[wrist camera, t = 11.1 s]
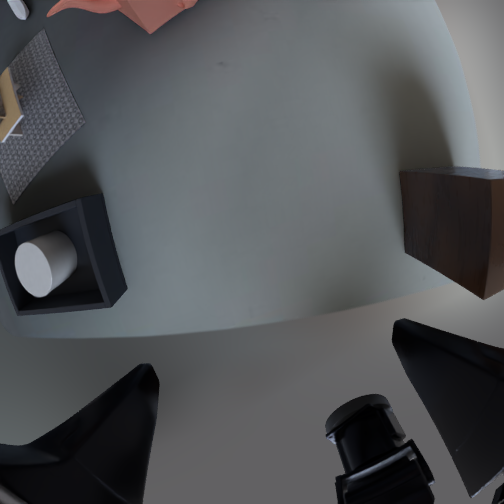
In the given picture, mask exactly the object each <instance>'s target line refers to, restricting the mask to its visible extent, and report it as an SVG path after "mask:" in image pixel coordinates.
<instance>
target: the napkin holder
mask: <svg viewBox="0 0 504 504" xmlns="http://www.w3.org/2000/svg"><path fill="white" fill-rule="evenodd" d="M19 88H20V84H19V83H15V82H14V79H13V75H12V71H11V68H10V67H7V68H6V70H5V71H4V72H3V73H2V75H1V76H0V142H1V143H5V142H6V140H7V139H8V137H22V136H23V134H22V131H21V128H20V125H19V122H20V121H21V120H22V119H23V117H24V116H25V114H24V112H23V109H22V106H21V102H20V100H21V99H22V98H23V96H22V95H20V94H18V93H17V90H18V89H19Z"/></svg>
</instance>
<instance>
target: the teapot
mask: <svg viewBox="0 0 504 504" xmlns="http://www.w3.org/2000/svg"><path fill="white" fill-rule="evenodd" d="M197 1H198V0H60V1H59V2H58V3H57V4H56V5H55V6H54V7H53V8H52V9H51V10H50V11H49V12H48V14H47V17H49V16H52V15H53V14H55V13H57V12H59V11H61V10H63V9H66V8H80V9H84V10H87V11H90V12H94V13H109V12H112V11H115V10H119V11H120V12H122V13H123V14H124V15H126V16H127V17H128V18H130V19H131V20H132V21H134V22H135V23H136V24H138V25H139V26H140V27H142V28H143V29H144V30H145V31H147V32H148V33H149V34H151V33H153V32H154V31H155V30H157V29H158V28H159V27H160V26H162V25H163V24H164V23H166V22H167V21H168V20H170V19H171V18H173V17H174V16H175V15H177V14H178V13H180V12H181V11H183V10H184V9H188V8H191V7H193V6H194V5H195V3H196V2H197Z"/></svg>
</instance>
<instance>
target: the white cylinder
mask: <svg viewBox="0 0 504 504" xmlns="http://www.w3.org/2000/svg"><path fill="white" fill-rule="evenodd" d="M76 267H77V254H76V250H75V247H74V245H73V243H72V241H71V240H70V238H69V237H68V236H67V235H65V234H64V233H63V232H60V231H51V232H48V233H46V234H43V235H41V236H38V237H36V238H34V239H31V240H29V241H27V242H24V243H22V244H21V245H20V246H19V247H18V249H17V251H16V255H15V268H16V272H17V275H18V278H19V280H20V282H21V284H22V285H23V287H24V288H25V289H26V290H27V291H28V292H29V293H30V294H32V295H33V296H36V297H43V296H46V295H47V294H48V293H50V292H51V291H52V290H54V289H55V288H56V287H58V286H59V285H60V284H62V283H63V282H64V281H66V280H67V279H68V278H70V277H71V276H72V275H73V274H74V272H75V270H76Z"/></svg>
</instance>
